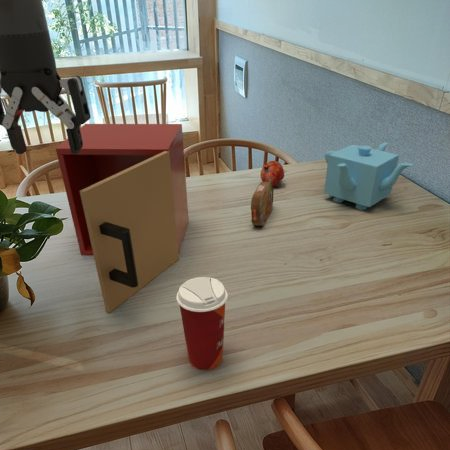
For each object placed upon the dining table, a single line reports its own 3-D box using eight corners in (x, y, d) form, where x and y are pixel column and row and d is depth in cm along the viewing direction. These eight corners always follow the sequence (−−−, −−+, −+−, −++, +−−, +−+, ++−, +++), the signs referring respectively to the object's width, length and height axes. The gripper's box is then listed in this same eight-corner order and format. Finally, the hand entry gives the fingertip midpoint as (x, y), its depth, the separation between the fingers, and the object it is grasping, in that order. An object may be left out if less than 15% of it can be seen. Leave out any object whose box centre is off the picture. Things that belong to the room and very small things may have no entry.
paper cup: (236, 365, 73) (236, 295, 65) (193, 380, 70) (187, 310, 62) (216, 337, 79) (213, 269, 70) (175, 350, 76) (167, 282, 68)
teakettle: (317, 188, 132) (322, 137, 123) (380, 186, 132) (390, 135, 124) (331, 216, 117) (339, 160, 108) (403, 213, 117) (416, 157, 108)
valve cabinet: (177, 257, 101) (167, 149, 86) (81, 255, 102) (55, 148, 88) (188, 222, 115) (181, 123, 101) (104, 220, 117) (85, 123, 102)
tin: (261, 231, 110) (262, 199, 105) (248, 230, 111) (249, 198, 106) (273, 207, 122) (275, 177, 117) (262, 205, 123) (263, 176, 118)
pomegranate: (269, 185, 140) (248, 171, 133) (284, 165, 137) (263, 150, 131) (282, 196, 135) (260, 182, 128) (297, 176, 133) (276, 160, 126)
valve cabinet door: (200, 266, 97) (194, 156, 83) (133, 322, 82) (111, 199, 68) (175, 258, 100) (165, 150, 86) (105, 311, 85) (79, 190, 71)
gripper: (80, 25, 61) (101, 145, 71) (-20, 26, 62) (15, 144, 72) (60, 30, 55) (86, 161, 64) (-51, 32, 56) (-9, 160, 65)
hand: (48, 152), depth 68 cm, fingers open, 8 cm apart
